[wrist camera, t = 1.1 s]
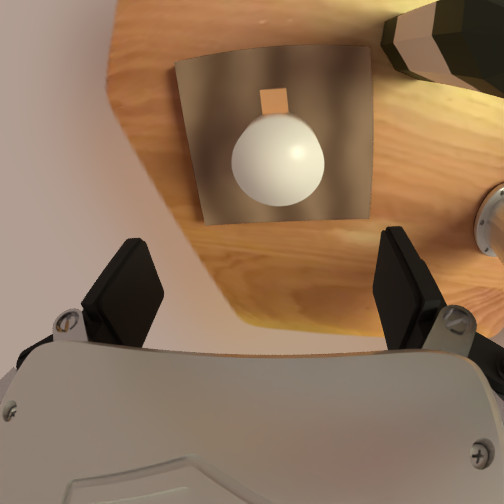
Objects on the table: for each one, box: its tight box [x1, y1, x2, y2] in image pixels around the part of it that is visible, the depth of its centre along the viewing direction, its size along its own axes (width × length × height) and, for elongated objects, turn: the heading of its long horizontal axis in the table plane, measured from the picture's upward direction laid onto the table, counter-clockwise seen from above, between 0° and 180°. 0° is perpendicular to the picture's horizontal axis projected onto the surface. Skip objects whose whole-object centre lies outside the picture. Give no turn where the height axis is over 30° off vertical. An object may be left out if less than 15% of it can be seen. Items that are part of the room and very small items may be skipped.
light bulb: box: [231, 88, 324, 206], centre depth 23 cm, size 7×9×5 cm
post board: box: [174, 45, 374, 225], centre depth 28 cm, size 20×20×6 cm
